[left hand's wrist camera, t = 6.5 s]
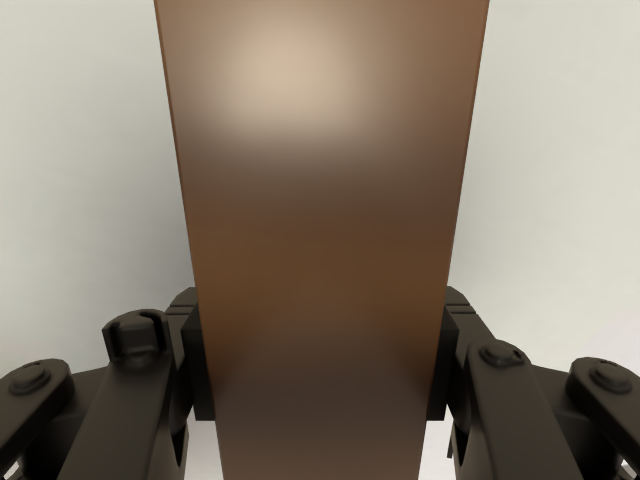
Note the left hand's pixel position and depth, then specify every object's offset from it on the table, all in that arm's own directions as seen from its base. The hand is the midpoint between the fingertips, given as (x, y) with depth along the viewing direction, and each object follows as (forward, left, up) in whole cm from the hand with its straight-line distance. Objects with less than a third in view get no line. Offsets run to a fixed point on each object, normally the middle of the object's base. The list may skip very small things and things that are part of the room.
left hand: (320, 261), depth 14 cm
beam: (+7, +20, -1) cm, 21 cm away
